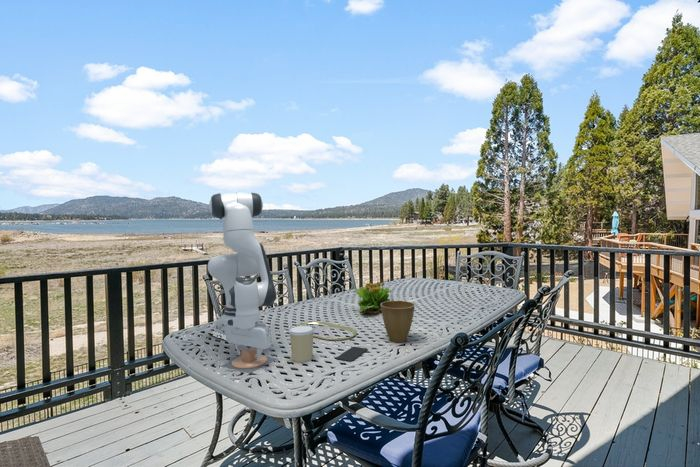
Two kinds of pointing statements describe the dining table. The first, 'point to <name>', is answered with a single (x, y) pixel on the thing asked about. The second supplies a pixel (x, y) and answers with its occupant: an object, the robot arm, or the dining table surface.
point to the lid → (248, 360)
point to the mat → (269, 360)
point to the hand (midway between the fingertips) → (249, 356)
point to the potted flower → (372, 297)
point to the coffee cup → (301, 343)
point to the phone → (351, 354)
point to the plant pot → (397, 319)
